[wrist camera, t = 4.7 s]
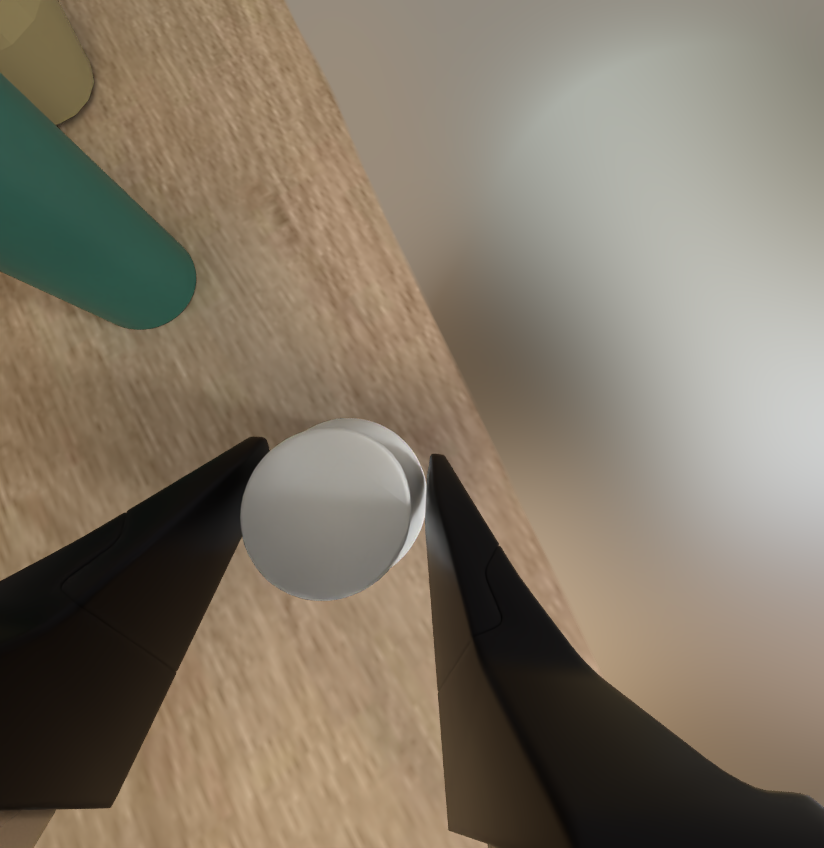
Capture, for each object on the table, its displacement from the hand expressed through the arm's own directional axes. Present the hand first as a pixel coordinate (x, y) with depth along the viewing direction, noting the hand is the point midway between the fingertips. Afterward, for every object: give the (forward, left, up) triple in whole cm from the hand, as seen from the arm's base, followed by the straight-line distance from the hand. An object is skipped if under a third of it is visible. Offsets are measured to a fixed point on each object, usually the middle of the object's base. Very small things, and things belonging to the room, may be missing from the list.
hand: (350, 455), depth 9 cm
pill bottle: (-1, +1, -7) cm, 7 cm away
